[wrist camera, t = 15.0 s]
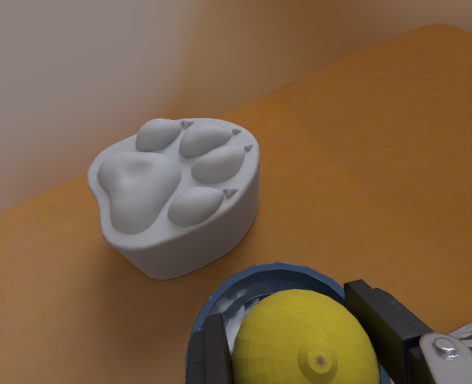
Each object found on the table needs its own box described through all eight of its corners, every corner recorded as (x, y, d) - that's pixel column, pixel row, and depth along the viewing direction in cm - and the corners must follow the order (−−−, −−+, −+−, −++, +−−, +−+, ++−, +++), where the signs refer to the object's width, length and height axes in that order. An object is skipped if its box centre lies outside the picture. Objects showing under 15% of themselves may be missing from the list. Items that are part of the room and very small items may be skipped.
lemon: (218, 396, 14) (189, 421, 7) (259, 292, 17) (265, 241, 10) (327, 458, 13) (415, 561, 6) (351, 334, 15) (432, 306, 9)
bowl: (206, 480, 17) (188, 524, 12) (197, 293, 23) (183, 274, 18) (382, 452, 17) (432, 485, 12) (328, 274, 23) (348, 252, 18)
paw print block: (115, 201, 28) (66, 142, 20) (229, 150, 31) (223, 83, 23) (148, 296, 23) (100, 263, 15) (281, 224, 25) (294, 168, 18)
